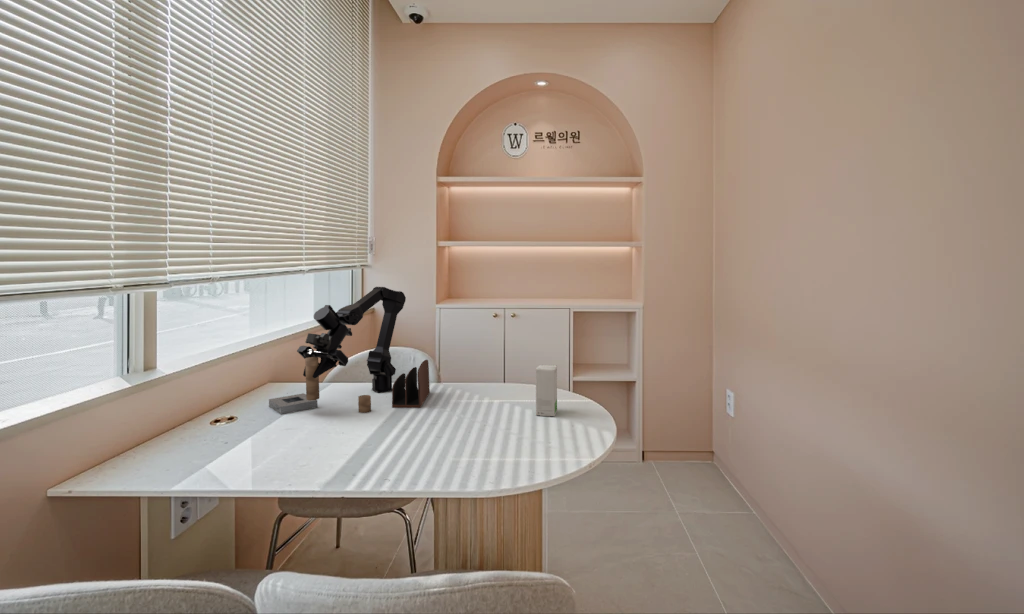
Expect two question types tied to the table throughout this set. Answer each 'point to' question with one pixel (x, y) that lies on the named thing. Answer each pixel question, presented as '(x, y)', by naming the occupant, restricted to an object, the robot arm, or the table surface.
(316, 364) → the tall pin
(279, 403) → the hole collar
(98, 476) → the table surface
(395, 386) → the letter holder
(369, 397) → the stub pin
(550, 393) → the skincare box
